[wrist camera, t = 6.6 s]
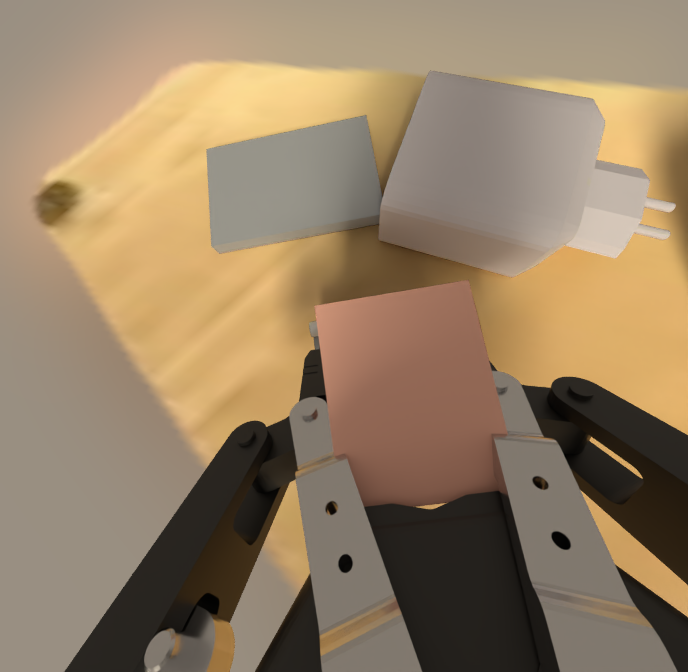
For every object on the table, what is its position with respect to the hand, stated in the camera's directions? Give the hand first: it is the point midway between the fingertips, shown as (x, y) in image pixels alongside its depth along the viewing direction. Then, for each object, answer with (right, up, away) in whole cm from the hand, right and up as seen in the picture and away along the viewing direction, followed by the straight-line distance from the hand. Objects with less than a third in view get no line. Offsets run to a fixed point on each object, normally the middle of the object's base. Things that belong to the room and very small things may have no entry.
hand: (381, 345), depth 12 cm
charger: (+9, +9, +6) cm, 14 cm away
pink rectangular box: (+1, -3, +4) cm, 5 cm away
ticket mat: (-5, +11, +7) cm, 14 cm away
